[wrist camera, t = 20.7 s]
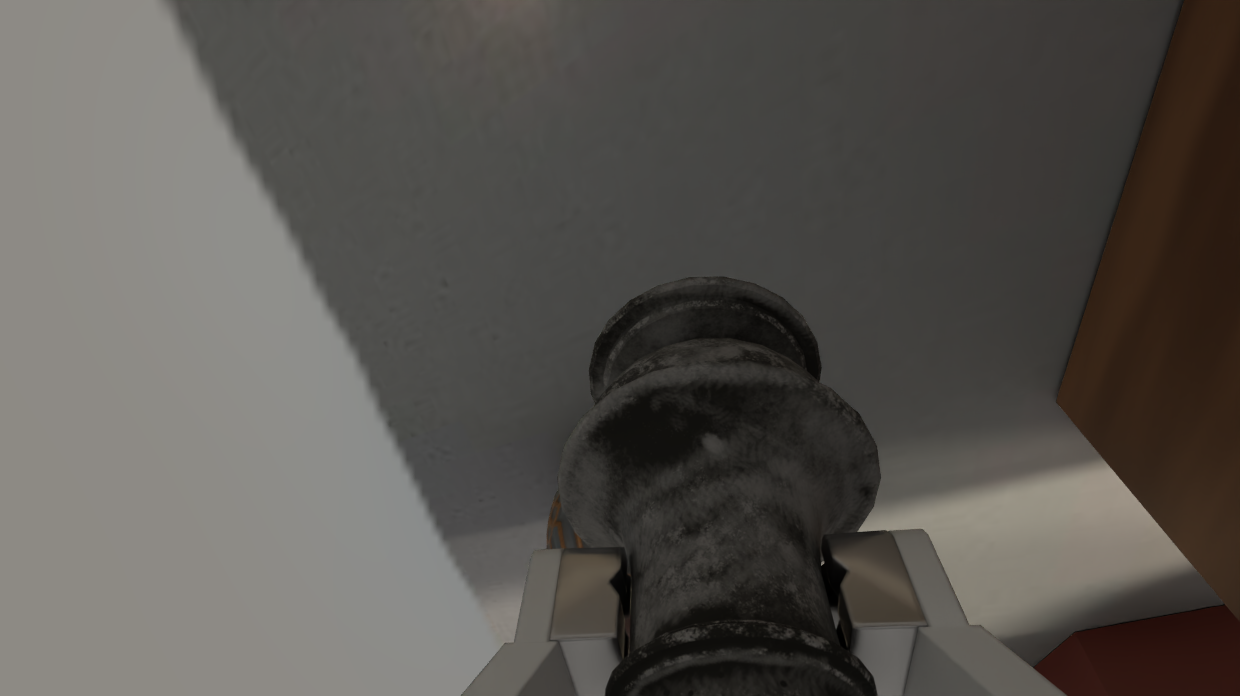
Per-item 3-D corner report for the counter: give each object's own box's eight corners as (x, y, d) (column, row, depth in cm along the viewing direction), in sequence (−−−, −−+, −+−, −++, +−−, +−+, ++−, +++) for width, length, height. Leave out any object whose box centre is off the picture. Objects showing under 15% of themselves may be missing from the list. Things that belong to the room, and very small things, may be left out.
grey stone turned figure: (759, 493, 17) (918, 1342, 7) (546, 430, 16) (363, 1305, 6) (885, 315, 13) (1542, 1425, 4) (628, 223, 13) (533, 1373, 3)
